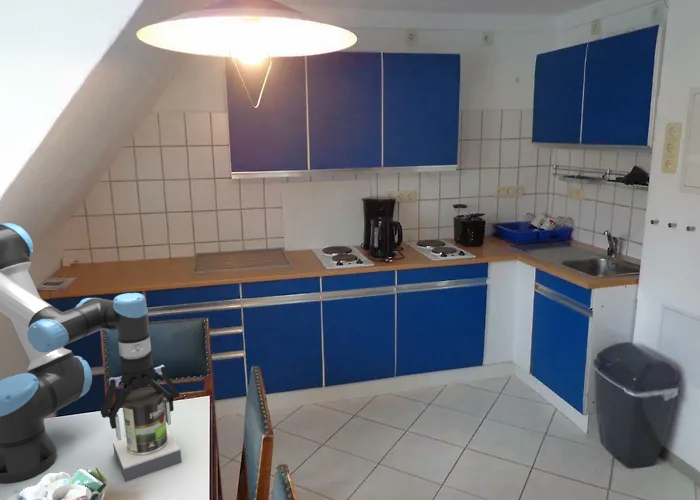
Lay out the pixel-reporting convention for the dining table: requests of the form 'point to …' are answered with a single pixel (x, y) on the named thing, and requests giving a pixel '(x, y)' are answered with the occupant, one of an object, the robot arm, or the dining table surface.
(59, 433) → the dining table surface
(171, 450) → the plinth
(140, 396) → the coffee can
